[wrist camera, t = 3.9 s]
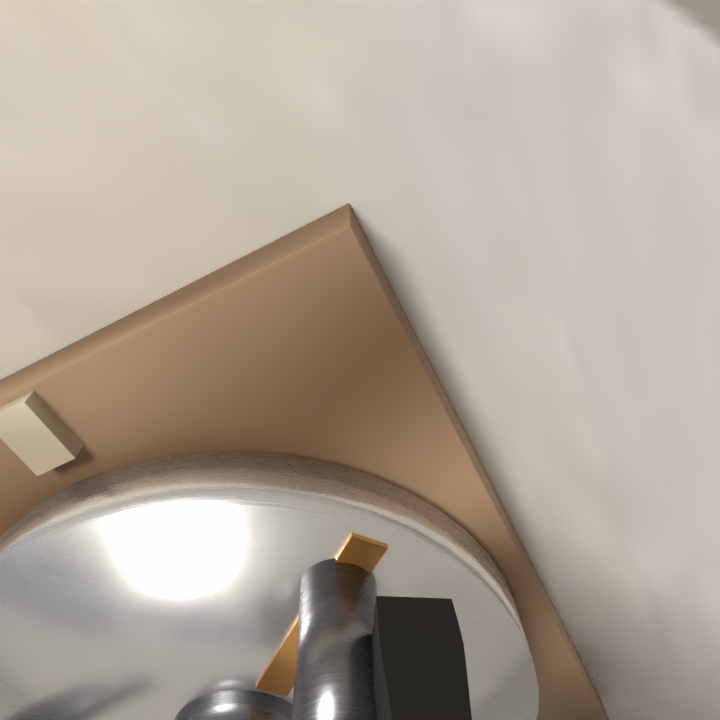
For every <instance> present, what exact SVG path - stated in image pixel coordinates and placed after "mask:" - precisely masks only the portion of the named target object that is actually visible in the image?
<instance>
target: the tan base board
mask: <svg viewBox="0 0 720 720" xmlns="http://www.w3.org/2000/svg"><path fill="white" fill-rule="evenodd" d="M225 451H247V452H259V453H272V454H284V455H291V456H296V457H302V458H307V459H312V460H317V461H323V462H328V463H332V464H336V465H339V466H342V467H345V468H349V469H352V470H355V471H359V472H362V473H365V474H368V475H372V476H374V477H376V478H378V479H381V480H383V481H385V482H388V483H390V484H392V485H395V486H397V487H399V488H402V489H404V490H406V491H408V492H410V493H412V494H413V495H415V496H417V497H418V498H420V499H422V500H424V501H425V502H427V503H429V504H430V505H432V506H434V507H435V508H437V509H439V510H440V511H442V512H443V513H444V514H445V515H447V516H448V517H449V518H451V519H452V520H453V521H454V522H456V523H457V524H458V525H460V526H461V527H462V528H463V529H465V530H466V531H467V532H468V533H469V534H470V535H471V536H472V537H473V538H474V539H475V540H476V541H477V543H478V544H479V545H480V546H481V547H482V548H483V549H484V550H485V551H486V552H487V553H488V554H489V556H490V557H491V559H492V560H493V562H494V563H495V565H496V566H497V568H498V569H499V571H500V572H501V574H502V575H503V577H504V578H505V580H506V583H507V585H508V587H509V590H510V592H511V594H512V596H513V599H514V601H515V604H516V607H517V610H518V614H519V617H520V620H521V623H522V627H523V630H524V633H525V636H526V640H527V643H528V646H529V649H530V653H531V656H532V659H533V663H534V667H535V672H536V677H537V681H538V686H539V711H538V716H537V720H609V719H608V716H607V714H606V711H605V709H604V706H603V704H602V701H601V699H600V697H599V695H598V693H597V691H596V689H595V687H594V685H593V683H592V681H591V679H590V677H589V675H588V673H587V671H586V669H585V667H584V665H583V663H582V661H581V659H580V658H579V656H578V654H577V652H576V650H575V648H574V646H573V644H572V642H571V640H570V638H569V636H568V634H567V632H566V630H565V628H564V626H563V624H562V622H561V620H560V618H559V616H558V614H557V612H556V610H555V608H554V606H553V604H552V602H551V600H550V598H549V596H548V594H547V593H546V591H545V589H544V587H543V585H542V583H541V581H540V579H539V577H538V575H537V573H536V571H535V569H534V567H533V565H532V563H531V561H530V559H529V557H528V555H527V553H526V551H525V549H524V547H523V545H522V543H521V541H520V539H519V537H518V535H517V533H516V531H515V529H514V528H513V526H512V524H511V522H510V520H509V518H508V516H507V514H506V512H505V510H504V508H503V506H502V504H501V502H500V500H499V498H498V496H497V494H496V492H495V490H494V488H493V486H492V484H491V482H490V480H489V478H488V476H487V474H486V472H485V470H484V468H483V466H482V464H481V463H480V461H479V459H478V457H477V455H476V453H475V451H474V449H473V447H472V445H471V443H470V441H469V439H468V437H467V435H466V433H465V431H464V429H463V427H462V425H461V423H460V421H459V419H458V417H457V415H456V413H455V411H454V409H453V407H452V405H451V403H450V401H449V399H448V398H447V396H446V394H445V392H444V390H443V388H442V386H441V384H440V382H439V380H438V378H437V376H436V374H435V372H434V370H433V368H432V366H431V364H430V362H429V360H428V358H427V356H426V354H425V352H424V350H423V348H422V346H421V344H420V342H419V340H418V338H417V336H416V334H415V333H414V331H413V329H412V327H411V325H410V323H409V321H408V319H407V317H406V315H405V313H404V311H403V309H402V307H401V305H400V303H399V301H398V299H397V297H396V295H395V293H394V291H393V289H392V287H391V285H390V283H389V281H388V279H387V277H386V275H385V273H384V271H383V269H382V268H381V266H380V264H379V262H378V260H377V258H376V256H375V254H374V252H373V250H372V248H371V246H370V244H369V242H368V240H367V238H366V236H365V234H364V232H363V230H362V228H361V226H360V224H359V222H358V220H357V218H356V216H355V214H354V212H353V210H352V208H351V206H350V204H347V205H345V206H343V207H341V208H339V209H337V210H335V211H333V212H331V213H329V214H327V215H325V216H323V217H321V218H319V219H317V220H315V221H313V222H311V223H309V224H307V225H305V226H303V227H301V228H299V229H297V230H295V231H293V232H291V233H289V234H288V235H286V236H284V237H282V238H280V239H278V240H276V241H274V242H272V243H270V244H268V245H266V246H264V247H262V248H260V249H258V250H256V251H254V252H252V253H250V254H248V255H246V256H244V257H242V258H240V259H238V260H236V261H234V262H232V263H230V264H228V265H226V266H224V267H223V268H221V269H219V270H217V271H215V272H213V273H211V274H209V275H207V276H205V277H203V278H201V279H199V280H197V281H195V282H193V283H191V284H189V285H187V286H185V287H183V288H181V289H179V290H177V291H175V292H173V293H171V294H169V295H167V296H165V297H163V298H161V299H159V300H158V301H156V302H154V303H152V304H150V305H148V306H146V307H144V308H142V309H140V310H138V311H136V312H134V313H132V314H130V315H128V316H126V317H124V318H122V319H120V320H118V321H116V322H114V323H112V324H110V325H108V326H106V327H104V328H102V329H100V330H98V331H96V332H94V333H93V334H91V335H89V336H87V337H85V338H83V339H81V340H79V341H77V342H75V343H73V344H71V345H69V346H67V347H65V348H63V349H61V350H59V351H57V352H55V353H53V354H51V355H49V356H47V357H45V358H43V359H41V360H39V361H37V362H35V363H33V364H31V365H29V366H28V367H26V368H24V369H22V370H20V371H18V372H16V373H14V374H12V375H10V376H8V377H6V378H4V379H2V380H0V536H1V534H2V533H3V532H4V531H5V530H6V529H7V528H8V527H9V526H10V525H11V524H12V523H13V522H14V521H15V520H16V519H18V518H19V517H20V516H22V515H23V514H24V513H26V512H27V511H28V510H30V509H31V508H32V507H34V506H35V505H36V504H38V503H39V502H40V501H41V500H43V499H45V498H47V497H49V496H51V495H52V494H54V493H56V492H58V491H60V490H62V489H63V488H65V487H67V486H69V485H71V484H73V483H75V482H77V481H80V480H82V479H85V478H88V477H90V476H93V475H95V474H98V473H101V472H103V471H106V470H109V469H111V468H115V467H119V466H123V465H127V464H131V463H135V462H139V461H143V460H147V459H151V458H156V457H164V456H172V455H179V454H187V453H195V452H225Z"/></svg>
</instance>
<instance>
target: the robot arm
mask: <svg viewBox="0 0 720 720" xmlns="http://www.w3.org/2000/svg"><path fill="white" fill-rule="evenodd" d="M372 644H373V682H374V698H375V708H376V717H377V720H472V715H471V705H470V696H469V686H468V677H467V668H466V659H465V650H464V643H463V639H462V635H461V631H460V627H459V623H458V619H457V616H456V612H455V609H454V605H453V601H452V599H447V598H421V597H394V596H376V601H375V611H374V621H373V631H372Z"/></svg>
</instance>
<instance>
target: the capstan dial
mask: <svg viewBox="0 0 720 720" xmlns="http://www.w3.org/2000/svg"><path fill="white" fill-rule="evenodd" d="M376 596H394V597H421V598H447V599H452V601H453V605H454V609H455V612H456V616H457V619H458V623H459V627H460V631H461V635H462V639H463V643H464V650H465V659H466V668H467V677H468V686H469V696H470V705H471V715H472V720H537V716H538V711H539V686H538V681H537V677H536V672H535V667H534V663H533V659H532V656H531V653H530V649H529V646H528V643H527V640H526V636H525V633H524V630H523V627H522V623H521V620H520V617H519V614H518V610H517V607H516V604H515V601H514V599H513V596H512V594H511V592H510V590H509V587H508V585H507V583H506V580H505V578H504V577H503V575H502V574H501V572H500V571H499V569H498V568H497V566H496V565H495V563H494V562H493V560H492V559H491V557H490V556H489V554H488V553H487V552H486V551H485V550H484V549H483V548H482V547H481V546H480V545H479V544H478V543H477V541H476V540H475V539H474V538H473V537H472V536H471V535H470V534H469V533H468V532H467V531H466V530H465V529H463V528H462V527H461V526H460V525H458V524H457V523H456V522H454V521H453V520H452V519H451V518H449V517H448V516H447V515H445V514H444V513H443V512H442V511H440V510H439V509H437V508H435V507H434V506H432V505H430V504H429V503H427V502H425V501H424V500H422V499H420V498H418V497H417V496H415V495H413V494H412V493H410V492H408V491H406V490H404V489H402V488H399V487H397V486H395V485H392V484H390V483H388V482H385V481H383V480H381V479H378V478H376V477H374V476H372V475H368V474H365V473H362V472H359V471H355V470H352V469H349V468H345V467H342V466H339V465H336V464H332V463H328V462H323V461H317V460H312V459H307V458H302V457H296V456H291V455H284V454H272V453H259V452H247V451H225V452H195V453H187V454H179V455H172V456H164V457H156V458H151V459H147V460H143V461H139V462H135V463H131V464H127V465H123V466H119V467H115V468H111V469H109V470H106V471H103V472H101V473H98V474H95V475H93V476H90V477H88V478H85V479H82V480H80V481H77V482H75V483H73V484H71V485H69V486H67V487H65V488H63V489H62V490H60V491H58V492H56V493H54V494H52V495H51V496H49V497H47V498H45V499H43V500H41V501H40V502H39V503H38V504H36V505H35V506H34V507H32V508H31V509H30V510H28V511H27V512H26V513H24V514H23V515H22V516H20V517H19V518H18V519H16V520H15V521H14V522H13V523H12V524H11V525H10V526H9V527H8V528H7V529H6V530H5V531H4V532H3V533H2V534H1V536H0V720H377V717H376V708H375V698H374V682H373V644H372V631H373V621H374V611H375V601H376Z"/></svg>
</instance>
